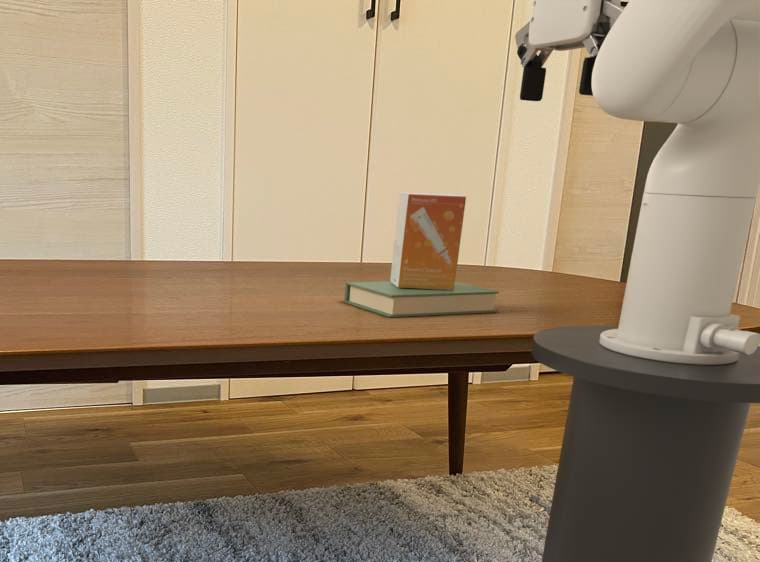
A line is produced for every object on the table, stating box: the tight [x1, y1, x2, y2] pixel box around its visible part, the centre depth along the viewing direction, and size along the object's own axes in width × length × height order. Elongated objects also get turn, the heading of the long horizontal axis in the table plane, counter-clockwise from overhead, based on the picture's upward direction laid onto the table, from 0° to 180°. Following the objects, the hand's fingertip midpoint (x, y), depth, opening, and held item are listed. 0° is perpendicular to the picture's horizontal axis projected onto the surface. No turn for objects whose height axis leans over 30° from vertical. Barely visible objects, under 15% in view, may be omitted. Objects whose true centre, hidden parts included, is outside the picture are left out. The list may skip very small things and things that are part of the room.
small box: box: [389, 191, 467, 291], centre depth 110 cm, size 8×6×13 cm
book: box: [343, 280, 500, 318], centre depth 113 cm, size 12×18×3 cm, turn 112°
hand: (559, 97), depth 96 cm, fingers open, 9 cm apart
